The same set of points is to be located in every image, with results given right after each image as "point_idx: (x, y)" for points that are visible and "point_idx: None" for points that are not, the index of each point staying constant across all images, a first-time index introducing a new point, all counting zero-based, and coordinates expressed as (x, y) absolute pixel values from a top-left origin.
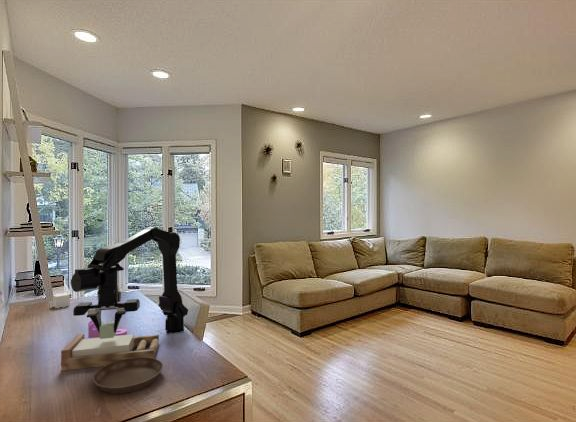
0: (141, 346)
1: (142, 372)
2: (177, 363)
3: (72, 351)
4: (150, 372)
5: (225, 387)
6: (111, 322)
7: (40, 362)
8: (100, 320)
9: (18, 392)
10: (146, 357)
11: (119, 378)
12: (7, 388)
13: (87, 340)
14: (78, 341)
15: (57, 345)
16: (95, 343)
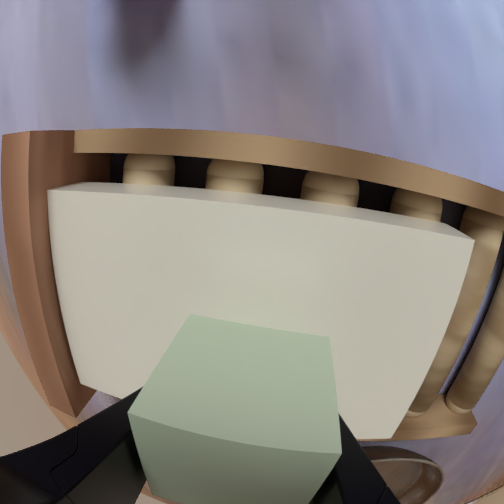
0: (461, 342)
1: (388, 472)
2: (491, 431)
3: (83, 380)
4: (407, 474)
5: (478, 500)
6: (266, 462)
7: (3, 223)
8: (103, 489)
9: (69, 416)
10: (424, 462)
11: None
12: (32, 381)
13: (86, 241)
14: (45, 273)
15: (16, 35)
16: (165, 341)
